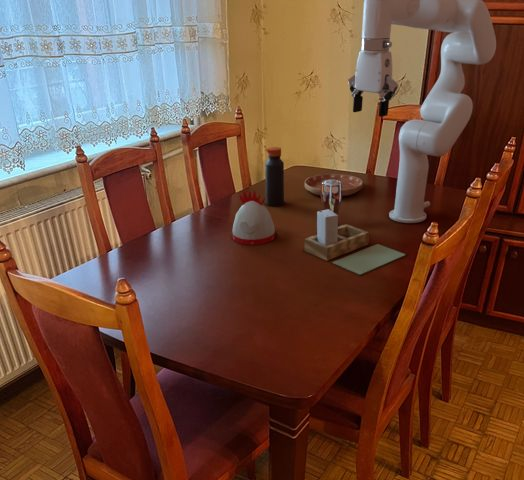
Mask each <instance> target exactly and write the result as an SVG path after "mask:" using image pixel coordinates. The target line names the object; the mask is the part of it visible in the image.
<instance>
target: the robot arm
mask: <svg viewBox="0 0 524 480" xmlns="http://www.w3.org/2000/svg"><path fill="white" fill-rule="evenodd" d="M362 11H363V12H362V25H361V26H362V27H361V42H360V51H359V52H358V56H357V61H356V66H355V75H352V76H351V77H349V78H348V79H347V82H348V85H349V91H350V93H351V97H352V98H353V103H352V113H358V112H362V111H363V101H364V100H363V99H364V98H363V95H362V94H363V93H364V92H365V93H372V94H378V95H379V97H380V99H381V100H380V101H379V103H378V104H379V105H378V117H379V118H383V117H387V116H388V113H389V105H390V101H391V100H392V98H393V97H394V96H395V94H396V91H397V90H398V87H399V84H398V83H397V81H395V80H394V79H393V56H392V51H390V48H392V46H393V42H392V41H391V31H392V25H397V26H404V27H409V28H414V29H420V30H421V29H423V30H430V31H437V32H442V33H443V32H444V33H448V34H447V35H446V36H445V37H444V39H443V40H442V43H441V47H440V73H439V76H438V78H437V80H436V81H435V83H434V85H433V86H432V87H431V90H430V91H429V92H428V94H427V96H426V98H425V99H424V101H423V103H422V104H421V106H420V111H419V114H420V117H421V118H422V119H410V120H407V121H406V122H404V124H402V126H401V127H400V129H399V133H398V146H399V147H398V148H399V160H398V161H399V162H398V163H399V164H398V172H397V180H396V189H395V199H394V207H393V208H394V209H392V210H390V211H389V212H388V217H389V218H390V220H392V221H394V222H398V223H403V224H418V223H422V222H424V221H425V220H427V213H426V212H425V211H424V210H425V209H426V208H428V207H431V202H430V201H429V200H426V201H425V197H426V189H427V182H428V174H429V167H430V166H429V164H430V163H429V159H428V156H432V157H438V158H439V157H444V156H446V155H447V154H448V153H449V152H450V150H451V149H452V148H453V147H454V144H455V143H456V142H457V140H458V138H459V137H460V135H461V134H462V133H463V131H464V129H465V128H466V126H467V125H468V122H469V121H470V119H471V116H472V113H473V109H474V107H473V106H474V105H473V100H472V98H471V97H470V96H469V95H467V94H466V93H465V94H464V93H462V91H463V90H464V88H465V84H466V79H465V74H464V69H463V65H462V64H465V65H485V64H487V63H489V62H491V60H492V59H493V57H494V56H495V53H496V50H497V38H496V37H497V36H496V33H495V29H494V25H493V21H492V18H491V15H490V11H489V9H488V7H487V5H486V3H485V2H484V1H483V0H363V9H362Z"/></svg>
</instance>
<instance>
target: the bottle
mask: <svg viewBox="0 0 524 480" xmlns="http://www.w3.org/2000/svg"><path fill="white" fill-rule="evenodd" d="M266 150H267V151H266V152H267V153H266V156H267V160H266V161H265V163H264V173H265V174H264V175H265V176H264V177H265V179H264V181H265V182H264V183H265V204H266V205H267V206H269V207H280V206H283V205H284V203H285V182H284V181H285V163H284V161H283V160H282V159H281V157H282V148H281V147H279V146H271V147H267V149H266Z"/></svg>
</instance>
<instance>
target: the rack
mask: <svg viewBox="0 0 524 480" xmlns="http://www.w3.org/2000/svg"><path fill="white" fill-rule="evenodd" d="M369 241H370V232H369V231H367V230H363V229H361V228H358V227H355V226H353V225H350V224H347V223H346V224H342V225H339V227H338V240H337V242H336V243H333V244H331V245H328V246H327V245H324V244H322V243H319V242H317V234H315V235H311V236H309V237H306V238H304V249H303V250H304V252H306V253H308V254H311V256H315V257H317V258H320V259H322V260H324V261H330V260H333V259H336V258H338V257H340V256H342V255H345V254H349V253H350V252H353V251H355V250H358V249H361V248H363V247H366V246H368V245H369Z"/></svg>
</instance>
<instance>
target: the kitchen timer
mask: <svg viewBox="0 0 524 480" xmlns="http://www.w3.org/2000/svg"><path fill="white" fill-rule="evenodd" d="M238 197H239V200H240V202H241V203H242V205H241V206H240V208H239V209H238V211H236V213H234V216H235V217H234V221H233V224H232V239H233V241H234V242H237V243H239V244H242V245H251V246H252V245H253V246H254V245H262V244H266V243H270V242H271V241H273V240H274V239H275V238H276V230H275V224H274V222H273V219H272V216H271V213H270V211H269V210H268V209H267V207H266V206H265V205H264V202H265V201H266V197H263V199H262V201H260V200H261V199H260V198H261V193H260V194H259V195H258V196H257V192H256V190H254V191H253V193H252V191H251V190H249V192H248V196H247V193H246V191H245V190H244V191H243V195H242V194H239V195H238Z"/></svg>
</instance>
